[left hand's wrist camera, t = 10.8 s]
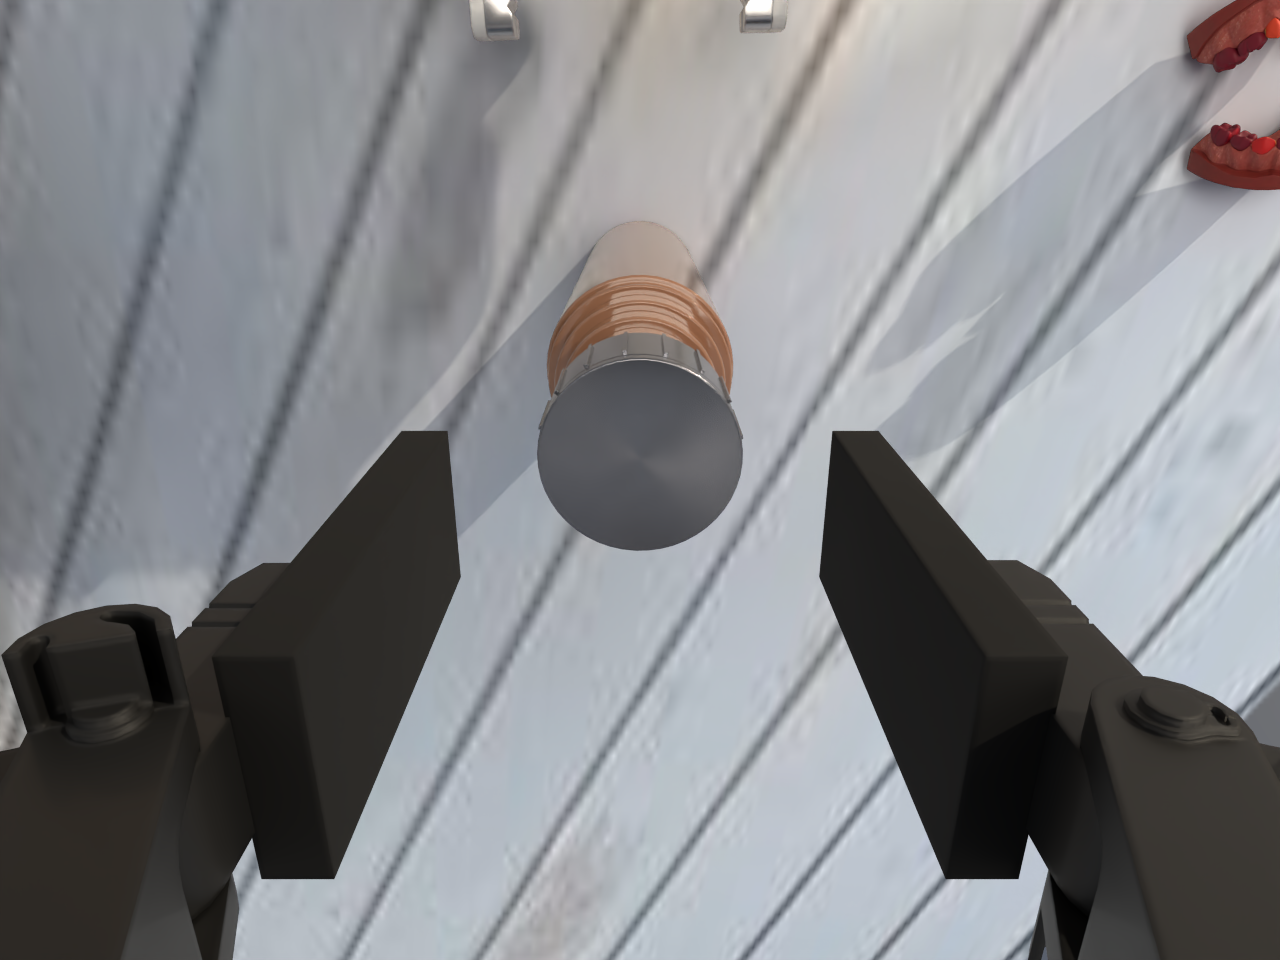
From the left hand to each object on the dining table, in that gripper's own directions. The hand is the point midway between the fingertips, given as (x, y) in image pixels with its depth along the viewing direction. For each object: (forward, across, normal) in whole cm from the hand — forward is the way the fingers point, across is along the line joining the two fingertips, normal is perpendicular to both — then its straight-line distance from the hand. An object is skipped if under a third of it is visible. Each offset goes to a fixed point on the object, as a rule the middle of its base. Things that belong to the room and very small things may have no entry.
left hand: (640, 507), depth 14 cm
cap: (+3, 0, 0) cm, 3 cm away
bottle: (+27, 0, 0) cm, 27 cm away
